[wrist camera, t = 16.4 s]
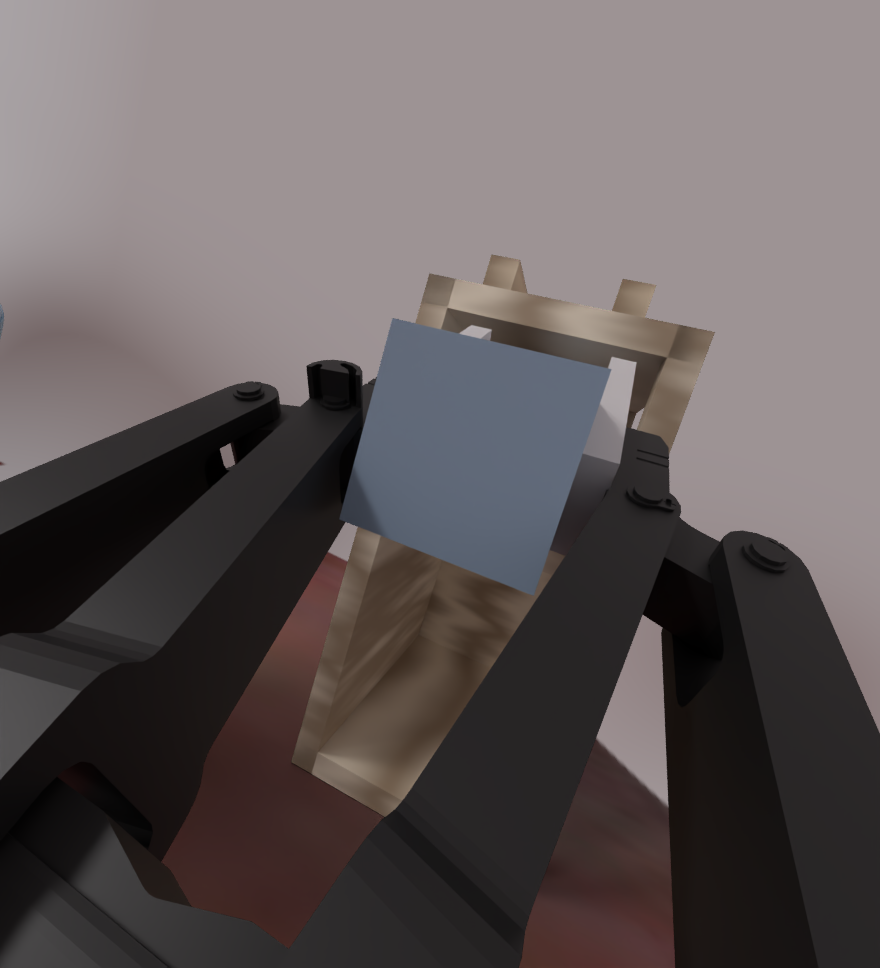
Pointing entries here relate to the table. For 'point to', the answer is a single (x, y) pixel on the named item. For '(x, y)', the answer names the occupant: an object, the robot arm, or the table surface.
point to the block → (472, 450)
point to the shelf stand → (447, 587)
